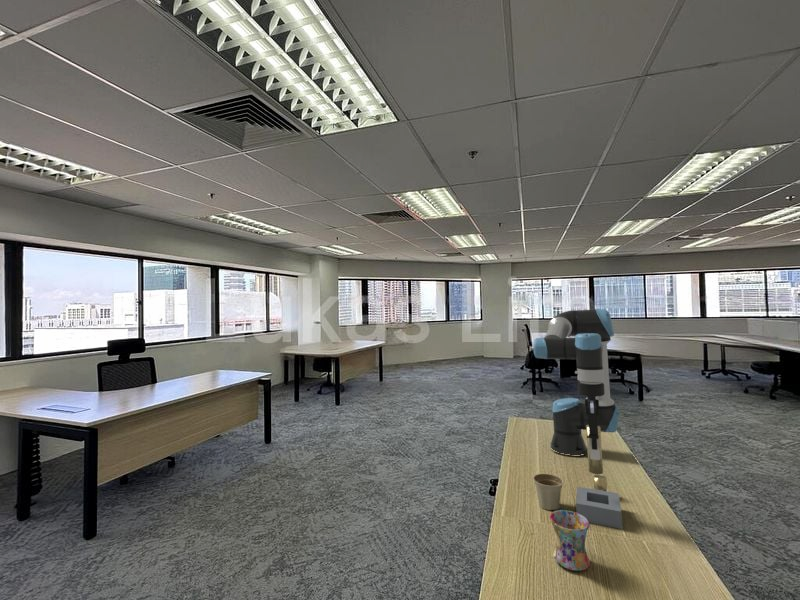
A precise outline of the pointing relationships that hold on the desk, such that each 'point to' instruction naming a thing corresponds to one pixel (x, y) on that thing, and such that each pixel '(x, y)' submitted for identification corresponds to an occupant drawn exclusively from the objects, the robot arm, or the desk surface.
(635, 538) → the desk surface
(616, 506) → the slate block
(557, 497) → the flower pot
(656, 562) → the desk surface
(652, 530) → the desk surface
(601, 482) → the short pin
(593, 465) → the long pin
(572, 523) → the mug
